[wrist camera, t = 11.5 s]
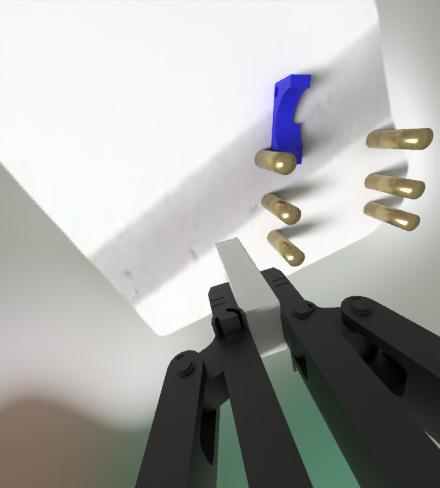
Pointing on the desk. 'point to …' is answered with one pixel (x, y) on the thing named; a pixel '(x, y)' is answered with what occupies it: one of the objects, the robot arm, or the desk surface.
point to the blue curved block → (288, 115)
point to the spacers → (383, 183)
